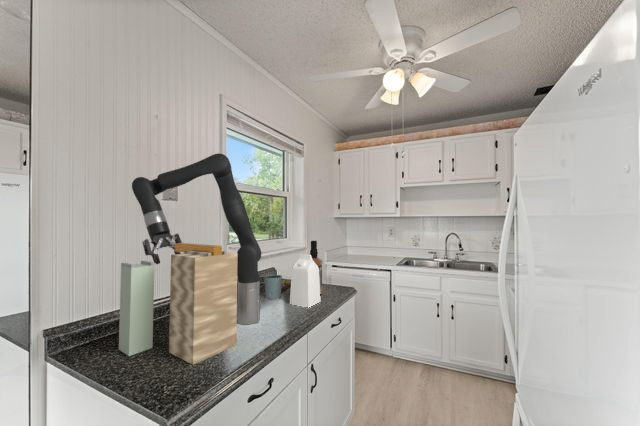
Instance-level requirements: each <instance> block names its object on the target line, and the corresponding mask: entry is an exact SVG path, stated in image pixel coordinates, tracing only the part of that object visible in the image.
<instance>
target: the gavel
mask: <svg viewBox="0 0 640 426" xmlns="http://www.w3.org/2000/svg"><path fill="white" fill-rule="evenodd" d="M282 285H285V286H284V287H282ZM289 286H291V280H287V279H283V280H282V281H281V292H283V291H284V290H285V291H286V290H287V289H289V288H290V287H289ZM288 287H289V288H288ZM285 291H284V292H285ZM284 292H283V293H284Z"/></svg>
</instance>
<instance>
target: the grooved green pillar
mask: <svg viewBox="0 0 640 426" xmlns="http://www.w3.org/2000/svg"><path fill="white" fill-rule="evenodd" d="M155 264H156V263H155V262H154V261H148V260H140V263H138V264H135V263H129V262H121V263H120V288H119V289H120V291H119V295H120V296H119V326H118V327H119V331H118V351H120V352H122V353H123V354H125V355H126V356H128V357H131V356H133V355H137V354H140V353H142V352H145V351H148V350H151V349H153V345H154V344H153V343H154V341H153V340H154V339H153V338H154V337H153V336H154V305H155V304H154V301H155V297H154V296H155Z"/></svg>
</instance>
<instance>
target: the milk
mask: <svg viewBox="0 0 640 426" xmlns="http://www.w3.org/2000/svg"><path fill="white" fill-rule="evenodd" d="M290 281H291V287H290V295H289V305H290V304H292V305H291V306H294V305H297V306H296V307H299V306H302V307H301V308H304V307H308V308H307V309H310V308H312V307H311V306H313V305H315V304H317V303H319V302H321V303H322V301H321V300H322V299H321V296H320V278H319V268H318V266H317V265H316V263H315V262H314V261H313V260H312V257H311V255H310V253H301V254H299V257H298V259H297V260H296V262H295V264H294V265H293V267H292V269H291V278H290ZM319 304H320V303H319ZM317 305H318V304H317ZM315 306H316V305H315ZM309 307H310V308H309ZM313 307H314V306H313Z"/></svg>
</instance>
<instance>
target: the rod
mask: <svg viewBox="0 0 640 426" xmlns="http://www.w3.org/2000/svg"><path fill="white" fill-rule="evenodd" d="M174 251H176V252H180V253H184V251H197V252H207V253H211V255H212V256H216V255H222V251H223V246H222V245H217V244H216V245H215V244H205V243H203V244H201V243H191V242H190V243H189V242H182V243H175V250H174Z"/></svg>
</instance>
